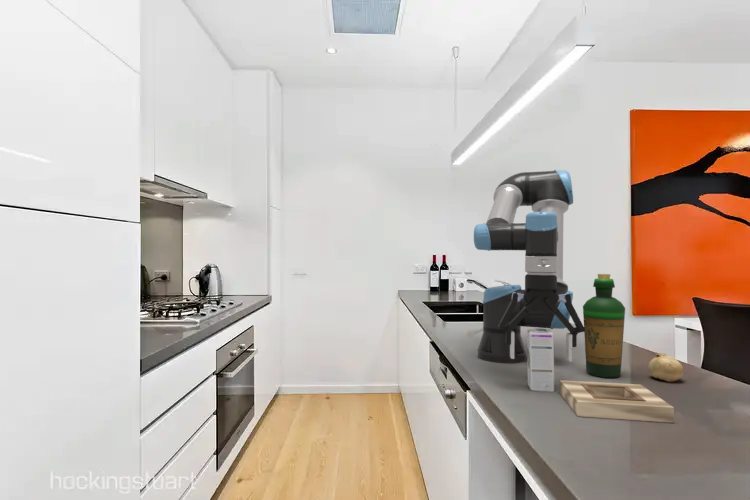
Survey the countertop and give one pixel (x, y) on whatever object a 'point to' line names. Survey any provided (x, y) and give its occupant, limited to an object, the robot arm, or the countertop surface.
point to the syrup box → (540, 359)
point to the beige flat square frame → (615, 401)
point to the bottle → (603, 330)
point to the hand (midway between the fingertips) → (540, 359)
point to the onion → (665, 368)
